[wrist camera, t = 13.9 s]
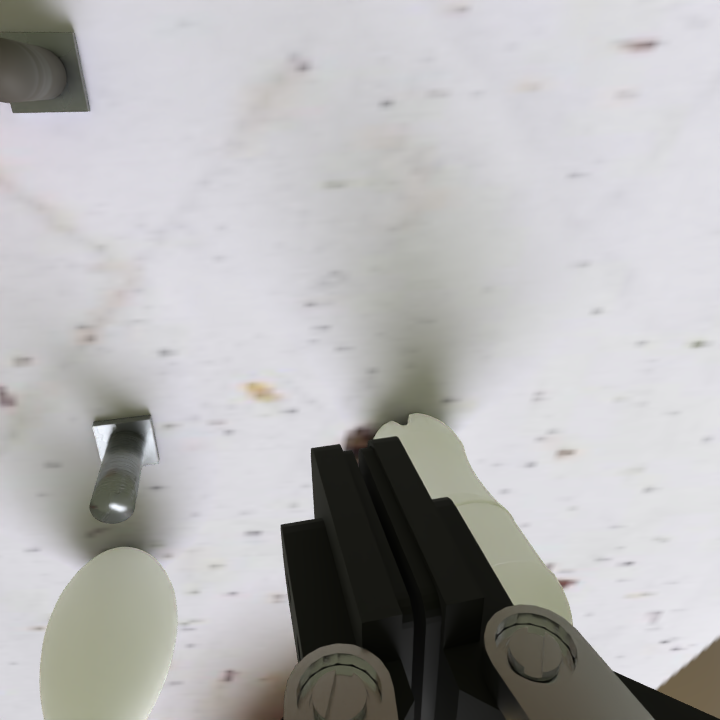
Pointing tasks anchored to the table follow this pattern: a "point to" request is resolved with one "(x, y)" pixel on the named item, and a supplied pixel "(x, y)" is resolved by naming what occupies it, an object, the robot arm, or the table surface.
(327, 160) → the table surface
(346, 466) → the robot arm
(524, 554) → the water bottle
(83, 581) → the sauce bottle
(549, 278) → the table surface
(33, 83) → the gate
